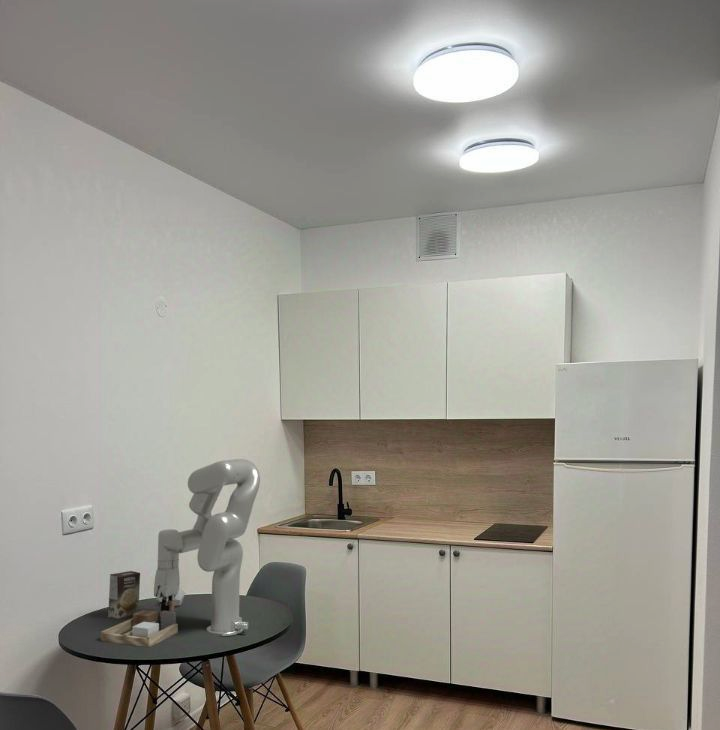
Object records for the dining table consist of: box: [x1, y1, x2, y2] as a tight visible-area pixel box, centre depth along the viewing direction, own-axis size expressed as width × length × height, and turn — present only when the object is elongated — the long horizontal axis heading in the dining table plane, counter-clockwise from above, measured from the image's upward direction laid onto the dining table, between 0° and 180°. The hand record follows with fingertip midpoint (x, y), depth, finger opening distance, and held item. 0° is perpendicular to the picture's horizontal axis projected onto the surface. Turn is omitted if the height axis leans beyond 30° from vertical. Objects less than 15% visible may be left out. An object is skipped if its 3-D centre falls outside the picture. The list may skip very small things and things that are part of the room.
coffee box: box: [107, 570, 141, 619], centre depth 260 cm, size 9×6×16 cm
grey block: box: [131, 611, 177, 638], centre depth 234 cm, size 6×17×6 cm, turn 161°
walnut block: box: [132, 600, 175, 626], centre depth 248 cm, size 6×17×6 cm, turn 161°
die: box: [163, 586, 186, 608], centre depth 276 cm, size 8×9×10 cm
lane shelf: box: [100, 618, 179, 648], centre depth 236 cm, size 19×23×4 cm
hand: (166, 614), depth 255 cm, fingers closed on walnut block
